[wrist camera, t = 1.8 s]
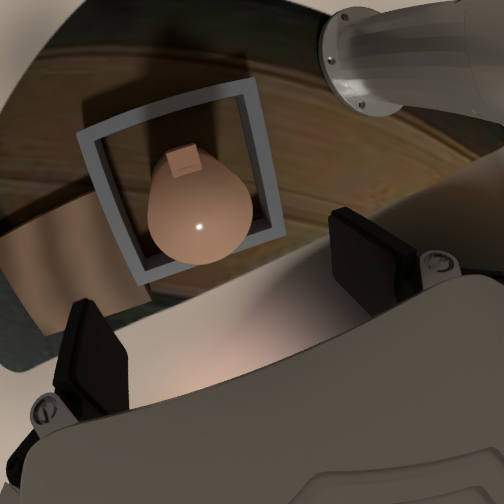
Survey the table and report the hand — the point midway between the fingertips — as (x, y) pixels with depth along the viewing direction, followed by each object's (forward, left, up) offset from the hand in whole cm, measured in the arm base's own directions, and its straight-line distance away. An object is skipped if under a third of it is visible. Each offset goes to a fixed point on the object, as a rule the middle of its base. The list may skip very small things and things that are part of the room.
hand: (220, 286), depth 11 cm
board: (+14, +4, -17) cm, 22 cm away
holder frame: (0, 0, -17) cm, 17 cm away
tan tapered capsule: (0, 0, -17) cm, 17 cm away
